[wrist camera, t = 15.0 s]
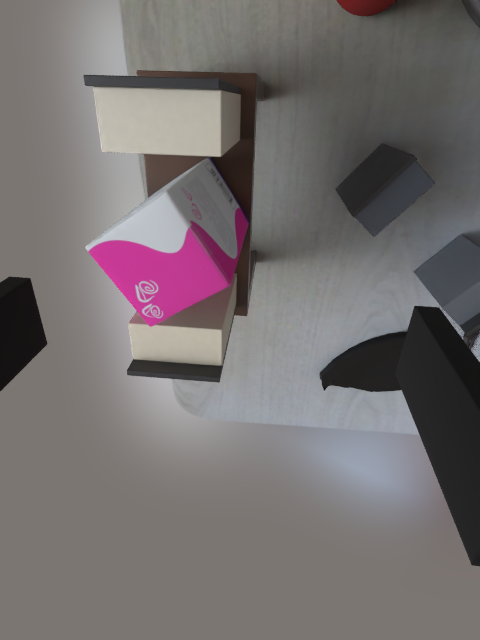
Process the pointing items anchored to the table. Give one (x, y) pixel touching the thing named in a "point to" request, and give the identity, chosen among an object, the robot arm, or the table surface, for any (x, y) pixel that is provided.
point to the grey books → (389, 202)
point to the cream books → (174, 139)
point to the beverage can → (365, 6)
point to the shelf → (221, 167)
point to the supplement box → (175, 244)
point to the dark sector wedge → (367, 365)
